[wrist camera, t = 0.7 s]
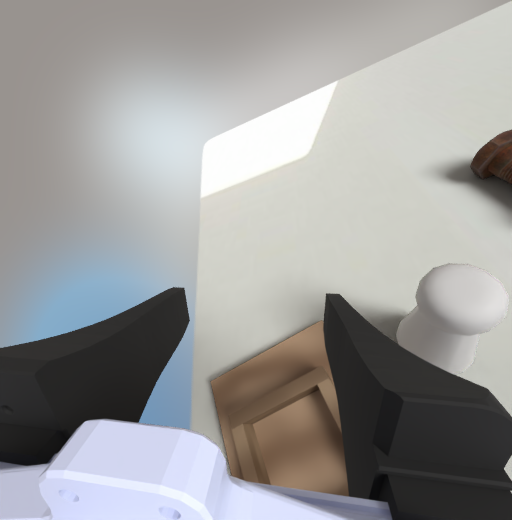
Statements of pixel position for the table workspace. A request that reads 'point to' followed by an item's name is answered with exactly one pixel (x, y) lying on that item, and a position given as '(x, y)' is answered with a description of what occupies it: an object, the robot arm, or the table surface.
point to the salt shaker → (452, 315)
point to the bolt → (495, 158)
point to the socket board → (284, 417)
